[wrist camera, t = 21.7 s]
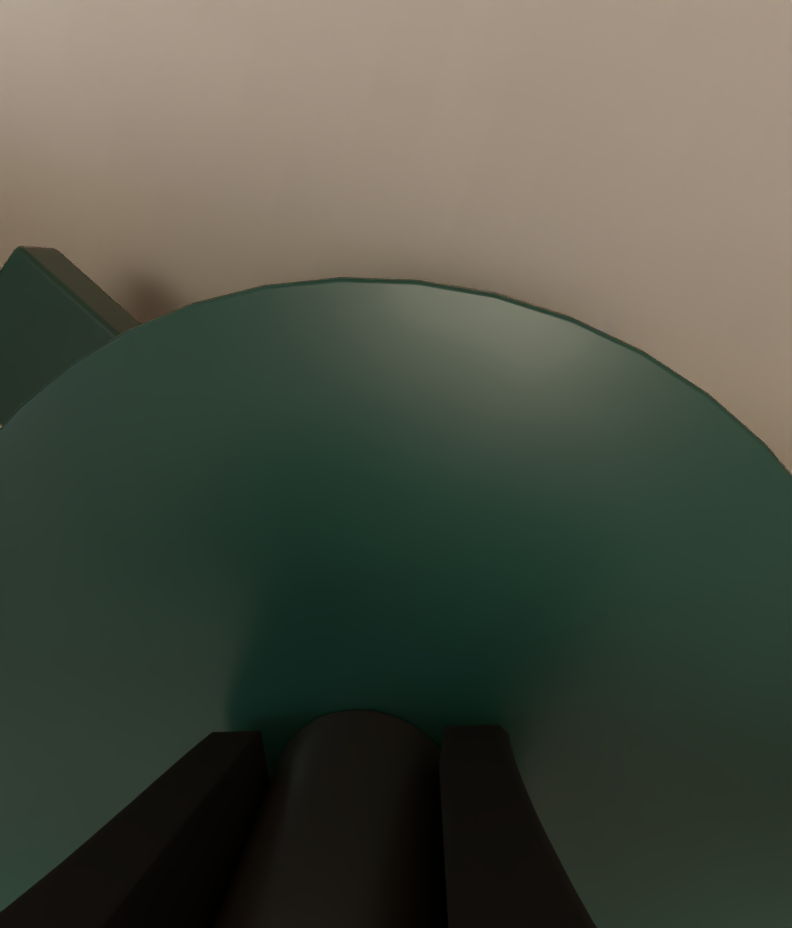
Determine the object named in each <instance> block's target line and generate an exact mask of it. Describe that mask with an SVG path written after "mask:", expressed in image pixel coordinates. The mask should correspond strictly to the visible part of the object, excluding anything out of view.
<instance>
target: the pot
mask: <svg viewBox="0 0 792 928" xmlns="http://www.w3.org/2000/svg"><path fill="white" fill-rule="evenodd" d="M138 325H141V324H140V323H139V322H138V321H137V320H136V319H134V318H133V317H132V316H131V315H130V314H129V313H128V312H127V311H125V310H124V309H123V308H122V307H121V306H120V305H119V304H118V303H117V302H115V301H114V300H113V299H112V298H111V297H110V296H109V295H108V294H106V293H105V292H104V291H103V290H102V289H101V288H100V287H99V286H98V285H96V284H95V283H94V282H93V281H92V280H91V279H90V278H89V277H87V276H86V275H85V274H84V273H83V272H82V271H81V270H80V269H79V268H77V267H76V266H75V265H74V264H73V263H72V262H71V261H70V260H68V259H67V258H66V257H65V256H64V255H63V254H62V253H61V252H60V251H58V250H57V249H54V248H42V247H27V246H19V247H17V248H16V249H15V250H14V251H13V253H12V254H11V256H10V257H9V258H8V260H7V261H6V263H5V264H4V266H3V267H2V269H1V270H0V424H1V425H2V426H3V425H4V424H5V422H6V421H7V420H8V419H9V418H10V417H11V416H12V415H13V413H14V412H15V411H16V410H17V409H18V408H19V407H20V406H21V404H23V403H24V402H25V401H26V400H28V399H29V398H30V397H31V396H32V395H34V394H35V393H36V392H37V391H38V390H40V389H41V388H42V387H43V386H45V385H46V384H47V383H48V382H49V381H51V380H52V379H53V378H54V377H55V376H57V375H58V374H59V373H60V372H61V371H63V370H64V369H65V368H66V367H68V366H69V365H70V364H71V363H73V362H75V361H76V360H78V359H80V358H81V357H83V356H85V355H86V354H88V353H90V352H91V351H93V350H95V349H97V348H98V347H100V346H102V345H103V344H105V343H107V342H108V341H110V340H112V339H113V338H115V337H117V336H118V335H120V334H122V333H123V332H125V331H127V330H128V329H131V328H133V327H136V326H138Z"/></svg>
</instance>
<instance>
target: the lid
mask: <svg viewBox="0 0 792 928" xmlns="http://www.w3.org/2000/svg"><path fill="white" fill-rule="evenodd" d="M460 725H500V726H501V727H502V728H503V729H504V730H505V731H506V732H508V733H509V739H510V744H511V747H512V751H513V755H514V758H515V761H516V764H517V767H518V770H519V772H520V775H521V778H522V780H523V783H524V785H525V788H526V790H527V792H528V795H529V797H530V799H531V802H532V804H533V806H534V809H535V811H536V813H537V815H538V817H539V820H540V822H541V824H542V826H543V828H544V830H545V832H546V834H547V836H548V838H549V840H550V842H551V844H552V846H553V848H554V850H555V852H556V854H557V856H558V857H559V859H560V861H561V863H562V865H563V867H564V869H565V871H566V873H567V875H568V877H569V879H570V881H571V883H572V885H573V886H574V888H575V890H576V892H577V894H578V895H579V897H580V899H581V901H582V902H583V904H584V906H585V908H586V910H587V911H588V913H589V915H590V917H591V918H592V920H593V922H594V924H595V925H596V927H597V928H792V475H791V474H790V472H789V471H788V470H787V469H786V468H785V467H784V465H783V464H782V463H781V462H780V461H779V459H778V458H777V457H776V456H775V455H774V454H773V452H772V451H771V450H770V449H769V448H768V446H767V445H766V444H765V443H764V442H763V441H762V440H760V439H759V438H758V437H757V436H756V435H755V434H754V433H752V432H751V431H750V430H749V429H748V428H747V427H746V426H744V425H743V424H742V423H741V422H740V421H739V420H738V419H737V418H735V417H734V416H733V415H732V414H731V413H730V412H729V411H727V410H726V409H725V408H724V407H723V406H722V405H721V404H719V403H718V402H717V401H716V400H715V399H714V398H713V397H712V396H710V395H709V394H708V393H707V392H705V391H703V390H702V389H700V388H699V387H697V386H696V385H694V384H693V383H691V382H690V381H688V380H687V379H685V378H684V377H682V376H681V375H679V374H677V373H676V372H674V371H673V370H671V369H670V368H668V367H667V366H665V365H664V364H662V363H661V362H659V361H658V360H656V359H655V358H653V357H652V356H650V355H648V354H647V353H645V352H644V351H642V350H640V349H638V348H636V347H634V346H631V345H629V344H627V343H625V342H623V341H621V340H619V339H617V338H615V337H612V336H610V335H608V334H606V333H604V332H602V331H600V330H598V329H595V328H593V327H591V326H589V325H587V324H585V323H583V322H581V321H579V320H576V319H574V318H572V317H570V316H567V315H565V314H561V313H558V312H555V311H552V310H549V309H545V308H542V307H539V306H536V305H533V304H530V303H526V302H523V301H520V300H517V299H514V298H511V297H507V296H504V295H501V294H498V293H495V292H489V291H483V290H477V289H472V288H466V287H460V286H454V285H448V284H442V283H437V282H431V281H425V280H413V279H384V278H354V277H338V278H329V279H319V280H309V281H300V282H290V283H281V284H271V285H263V286H259V287H255V288H251V289H247V290H243V291H239V292H235V293H231V294H227V295H223V296H219V297H215V298H211V299H207V300H203V301H199V302H195V303H192V304H189V305H187V306H185V307H182V308H180V309H177V310H175V311H172V312H170V313H168V314H165V315H163V316H160V317H158V318H155V319H153V320H150V321H148V322H146V323H143V324H141V325H138V326H136V327H133V328H131V329H128V330H127V331H125V332H123V333H122V334H120V335H118V336H117V337H115V338H113V339H112V340H110V341H108V342H107V343H105V344H103V345H102V346H100V347H98V348H97V349H95V350H93V351H91V352H90V353H88V354H86V355H85V356H83V357H81V358H80V359H78V360H76V361H75V362H73V363H71V364H70V365H69V366H68V367H66V368H65V369H64V370H63V371H61V372H60V373H59V374H58V375H57V376H55V377H54V378H53V379H52V380H51V381H49V382H48V383H47V384H46V385H45V386H43V387H42V388H41V389H40V390H38V391H37V392H36V393H35V394H34V395H32V396H31V397H30V398H29V399H28V400H26V401H25V402H24V403H23V404H21V406H20V407H19V408H18V409H17V410H16V411H15V412H14V413H13V415H12V416H11V417H10V418H9V419H8V420H7V421H6V422H5V424H4V425H3V426H2V427H1V428H0V912H1V911H2V910H4V909H5V908H6V907H7V906H8V905H10V904H11V903H12V902H13V901H15V900H16V899H17V898H18V897H20V896H21V895H22V894H23V893H25V892H26V891H27V890H28V889H29V888H31V887H32V886H33V885H34V884H36V883H37V882H38V881H39V880H41V879H42V878H43V877H44V876H45V875H47V874H48V873H49V872H50V871H52V870H53V869H54V868H55V867H57V866H58V865H59V864H60V863H61V862H63V861H64V860H65V859H66V858H67V857H69V856H70V855H71V854H72V853H73V852H74V851H75V850H77V849H78V848H79V847H80V846H81V845H82V844H83V843H85V842H86V841H87V840H88V839H89V838H90V837H92V836H93V835H94V834H95V833H96V832H97V831H98V830H100V829H101V828H102V827H103V826H104V825H105V824H106V823H108V822H109V821H110V820H111V819H112V818H113V817H115V816H116V815H117V814H118V813H119V812H120V811H121V810H123V809H124V808H125V807H126V806H127V805H128V804H129V803H131V802H132V801H133V800H134V799H135V798H136V797H137V796H138V795H140V794H141V793H142V792H143V791H144V790H145V789H146V788H148V787H149V786H150V785H151V784H152V783H153V782H154V781H155V780H157V779H158V778H159V777H160V776H161V775H162V774H163V773H164V772H166V771H167V770H168V769H169V768H170V767H171V766H172V765H174V764H175V763H176V762H177V761H178V760H179V759H180V758H182V757H183V756H184V755H185V754H186V753H187V752H188V751H190V750H191V749H192V748H193V747H194V746H196V745H197V744H198V743H199V742H200V741H202V740H203V739H204V738H205V737H207V736H208V735H209V734H210V733H212V732H230V731H261V734H262V740H263V746H264V751H265V757H266V763H267V768H268V774H269V779H270V784H269V786H268V789H267V791H266V794H265V797H264V799H263V802H262V804H261V807H260V809H259V812H258V814H257V817H256V819H255V822H254V824H253V827H252V829H251V832H250V834H249V837H248V840H247V842H246V845H245V847H244V850H243V852H242V855H241V857H240V860H239V862H238V865H237V867H236V870H235V872H234V875H233V877H232V880H231V883H230V885H229V888H228V890H227V893H226V895H225V898H224V900H223V903H222V905H221V908H220V910H219V913H218V915H217V918H216V920H215V923H214V926H213V928H448V914H447V897H446V880H445V862H444V845H443V828H442V810H441V793H440V775H439V763H440V755H441V747H442V741H443V735H444V729H445V726H460Z"/></svg>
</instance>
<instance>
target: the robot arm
mask: <svg viewBox="0 0 792 928" xmlns="http://www.w3.org/2000/svg"><path fill="white" fill-rule="evenodd" d="M439 775H440V793H441V810H442V828H443V845H444V862H445V880H446V897H447V914H448V928H597V927H596V925H595V924H594V922H593V920H592V918H591V917H590V915H589V913H588V911H587V910H586V908H585V906H584V904H583V902H582V901H581V899H580V897H579V895H578V894H577V892H576V890H575V888H574V886H573V885H572V883H571V881H570V879H569V877H568V875H567V873H566V871H565V869H564V867H563V865H562V863H561V861H560V859H559V857H558V856H557V854H556V852H555V850H554V848H553V846H552V844H551V842H550V840H549V838H548V836H547V834H546V832H545V830H544V828H543V826H542V824H541V822H540V820H539V817H538V815H537V813H536V811H535V809H534V806H533V804H532V802H531V799H530V797H529V795H528V792H527V790H526V788H525V785H524V783H523V780H522V778H521V775H520V772H519V770H518V767H517V764H516V761H515V758H514V755H513V751H512V747H511V744H510V739H509V733H508V732H506V731H505V730H504V729H503V728H502V727H501V726H500V725H460V726H445V729H444V735H443V741H442V747H441V755H440V763H439ZM269 784H270V779H269V774H268V768H267V763H266V757H265V751H264V746H263V740H262V734H261V731H230V732H212V733H210V734H209V735H208V736H207V737H205V738H204V739H203V740H202V741H200V742H199V743H198V744H197V745H196V746H194V747H193V748H192V749H191V750H190V751H188V752H187V753H186V754H185V755H184V756H183V757H182V758H180V759H179V760H178V761H177V762H176V763H175V764H174V765H172V766H171V767H170V768H169V769H168V770H167V771H166V772H164V773H163V774H162V775H161V776H160V777H159V778H158V779H157V780H155V781H154V782H153V783H152V784H151V785H150V786H149V787H148V788H146V789H145V790H144V791H143V792H142V793H141V794H140V795H138V796H137V797H136V798H135V799H134V800H133V801H132V802H131V803H129V804H128V805H127V806H126V807H125V808H124V809H123V810H121V811H120V812H119V813H118V814H117V815H116V816H115V817H113V818H112V819H111V820H110V821H109V822H108V823H106V824H105V825H104V826H103V827H102V828H101V829H100V830H98V831H97V832H96V833H95V834H94V835H93V836H92V837H90V838H89V839H88V840H87V841H86V842H85V843H83V844H82V845H81V846H80V847H79V848H78V849H77V850H75V851H74V852H73V853H72V854H71V855H70V856H69V857H67V858H66V859H65V860H64V861H63V862H61V863H60V864H59V865H58V866H57V867H55V868H54V869H53V870H52V871H50V872H49V873H48V874H47V875H45V876H44V877H43V878H42V879H41V880H39V881H38V882H37V883H36V884H34V885H33V886H32V887H31V888H29V889H28V890H27V891H26V892H25V893H23V894H22V895H21V896H20V897H18V898H17V899H16V900H15V901H13V902H12V903H11V904H10V905H8V906H7V907H6V908H5V909H4V910H2V911H1V912H0V928H213V926H214V923H215V920H216V918H217V915H218V913H219V910H220V908H221V905H222V903H223V900H224V898H225V895H226V893H227V890H228V888H229V885H230V883H231V880H232V877H233V875H234V872H235V870H236V867H237V865H238V862H239V860H240V857H241V855H242V852H243V850H244V847H245V845H246V842H247V840H248V837H249V834H250V832H251V829H252V827H253V824H254V822H255V819H256V817H257V814H258V812H259V809H260V807H261V804H262V802H263V799H264V797H265V794H266V791H267V789H268V786H269Z"/></svg>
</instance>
